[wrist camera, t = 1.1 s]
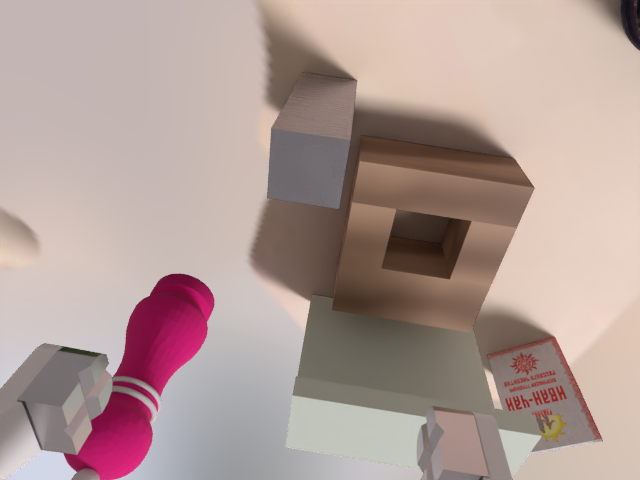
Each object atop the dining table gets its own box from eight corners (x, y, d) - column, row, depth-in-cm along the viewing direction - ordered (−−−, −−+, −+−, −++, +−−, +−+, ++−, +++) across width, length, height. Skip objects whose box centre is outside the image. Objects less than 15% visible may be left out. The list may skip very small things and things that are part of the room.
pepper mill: (137, 284, 45) (-1, 479, 28) (188, 258, 42) (71, 456, 26) (182, 329, 48) (82, 528, 31) (233, 308, 45) (154, 513, 29)
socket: (361, 135, 34) (359, 161, 30) (514, 158, 34) (534, 187, 29) (335, 274, 42) (331, 310, 37) (459, 294, 41) (469, 332, 37)
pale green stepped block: (317, 254, 40) (292, 395, 28) (487, 281, 40) (541, 436, 27) (310, 301, 44) (285, 447, 31) (467, 327, 44) (507, 483, 31)
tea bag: (563, 359, 45) (607, 452, 37) (498, 376, 47) (525, 467, 39) (554, 336, 43) (598, 427, 35) (487, 355, 46) (512, 444, 37)
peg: (302, 72, 32) (271, 128, 22) (357, 80, 32) (350, 140, 22) (297, 125, 34) (267, 198, 24) (348, 133, 34) (338, 209, 24)
